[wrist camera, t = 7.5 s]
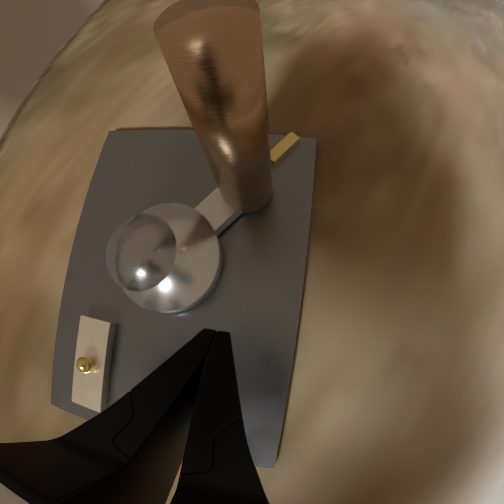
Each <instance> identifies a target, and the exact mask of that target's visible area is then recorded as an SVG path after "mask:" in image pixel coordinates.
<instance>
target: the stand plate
mask: <svg viewBox="0 0 504 504" xmlns="http://www.w3.org/2000/svg"><path fill="white" fill-rule="evenodd" d="M269 137H270V153H271V169H272V186H273V190H272V195H271V198H270V200H269V201H268V203H267V204H266V205H265V206H263V207H262V208H261V209H259V210H257V211H254V212H249V213H241V214H240V215H239V216H238V217H237V218H236V219H235V220H234V221H233V222H232V223H231V224H230V225H229V226H228V227H227V228H225V229H224V230H223V231H222V232H221V233H220V234H219V235H218V238H219V240H220V244H221V247H222V255H223V262H222V269H221V273H220V276H219V279H218V282H217V283H216V285H215V287H214V289H213V290H212V292H211V293H210V294H209V295H208V296H207V297H206V299H204V300H203V301H202V302H201V303H200V304H198V305H196V306H195V307H193V308H191V309H189V310H186V311H183V312H178V313H162V312H157V311H152V310H148V309H146V308H143V307H141V306H139V305H138V304H136V303H135V302H134V301H132V300H131V299H130V298H129V297H128V296H127V295H126V293H125V292H124V290H123V289H122V287H121V286H119V285H118V284H117V283H116V282H115V281H114V280H113V279H112V277H111V276H110V274H109V272H108V269H107V265H106V248H107V244H108V241H109V239H110V237H111V235H112V233H113V232H114V230H115V229H116V228H117V227H118V226H119V225H120V224H121V223H122V222H123V221H125V220H126V219H128V218H130V217H132V216H135V215H138V214H140V213H141V212H143V211H144V210H146V209H148V208H150V207H153V206H155V205H159V204H164V203H178V204H183V205H187V206H189V207H191V208H195V207H197V206H198V205H199V204H200V203H201V202H202V201H203V200H204V199H205V198H206V197H207V196H208V195H210V194H211V193H212V192H213V191H214V190H215V189H216V188H217V187H218V186H217V183H216V181H215V179H214V176H213V174H212V171H211V169H210V167H209V164H208V162H207V159H206V157H205V155H204V152H203V150H202V147H201V145H200V143H199V140H198V138H197V135H196V133H195V131H194V130H124V131H109V133H108V136H107V138H106V141H105V144H104V146H103V149H102V152H101V154H100V157H99V160H98V163H97V165H96V168H95V171H94V174H93V177H92V180H91V183H90V186H89V189H88V193H87V196H86V199H85V202H84V206H83V209H82V213H81V216H80V220H79V224H78V227H77V231H76V235H75V239H74V243H73V247H72V251H71V256H70V260H69V265H68V269H67V274H66V279H65V284H64V289H63V295H62V301H61V307H60V313H59V320H58V327H57V334H56V343H55V352H54V362H53V375H52V391H51V404H52V405H55V406H57V407H59V408H61V409H63V410H65V411H68V412H70V413H72V414H74V415H77V416H79V417H81V418H84V419H86V420H90V419H91V418H93V417H94V416H96V415H98V414H99V413H101V412H102V411H104V410H105V409H107V408H108V407H109V406H111V405H112V404H113V403H115V402H116V401H117V400H118V399H120V398H121V397H122V396H123V395H125V394H126V393H127V392H128V391H130V390H131V389H132V388H133V387H135V386H136V385H137V384H138V383H139V382H141V381H142V380H143V379H144V378H145V377H147V376H148V375H149V374H150V373H151V372H153V371H154V370H155V369H156V368H157V367H159V366H160V365H161V364H162V363H163V362H164V361H166V360H167V359H168V358H169V357H170V356H172V355H173V354H174V353H175V352H176V351H178V350H179V349H180V348H181V347H182V346H183V345H185V344H186V343H187V342H188V341H189V340H190V339H192V338H193V337H194V336H195V335H196V334H197V333H199V332H200V331H201V330H202V329H204V328H208V329H214V330H216V331H219V330H220V331H226V332H230V334H231V341H232V348H233V355H234V362H235V369H236V376H237V383H238V389H239V396H240V403H241V409H242V416H243V421H244V427H245V433H246V437H247V442H248V446H249V449H250V453H251V456H252V459H253V462H254V465H255V466H260V467H268V468H275V463H276V458H277V453H278V447H279V442H280V437H281V431H282V426H283V420H284V414H285V409H286V403H287V397H288V391H289V385H290V378H291V372H292V366H293V359H294V352H295V345H296V338H297V331H298V324H299V316H300V309H301V301H302V293H303V285H304V276H305V267H306V258H307V249H308V239H309V229H310V219H311V208H312V196H313V184H314V171H315V157H316V141H317V139H315V138H307V137H298V136H297V135H295V134H294V133H293V132H290V133H289V134H288V135H278V134H269Z"/></svg>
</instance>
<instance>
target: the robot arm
mask: <svg viewBox="0 0 504 504" xmlns="http://www.w3.org/2000/svg"><path fill="white" fill-rule="evenodd" d="M182 460H183V462H182ZM181 463H182V467H181V472H180V477H179V481H178V485H177V489H176V492H175V494H174V496H173V498H172V500H171V503H170V504H269V502H268V500H267V497H266V495H265V492H264V489H263V487H262V484H261V481H260V479H259V476H258V473H257V470H256V467H255V465H254V462H253V459H252V456H251V453H250V449H249V446H248V442H247V437H246V433H245V427H244V421H243V416H242V409H241V403H240V396H239V389H238V383H237V376H236V369H235V362H234V355H233V348H232V341H231V334H230V332H226V331H220V330H219V331H216V330H214V329H208V328H204V329H202V330H201V331H200V332H199V333H197V334H196V335H195V336H194V337H193V338H192V339H190V340H189V341H188V342H187V343H186V344H185V345H183V346H182V347H181V348H180V349H179V350H178V351H176V352H175V353H174V354H173V355H172V356H170V357H169V358H168V359H167V360H166V361H164V362H163V363H162V364H161V365H160V366H159V367H157V368H156V369H155V370H154V371H153V372H151V373H150V374H149V375H148V376H147V377H145V378H144V379H143V380H142V381H141V382H139V383H138V384H137V385H136V386H135V387H133V388H132V389H131V390H130V391H128V392H127V393H126V394H125V395H123V396H122V397H121V398H120V399H118V400H117V401H116V402H115V403H113V404H112V405H111V406H109V407H108V408H107V409H105V410H104V411H102V412H101V413H99V414H98V415H96V416H94V417H93V418H91V419H90V420H88V421H86V422H85V423H83V424H82V425H80V426H78V427H77V428H75V429H73V430H72V431H70V432H68V433H67V434H65V435H63V436H61V437H58V438H55V439H52V440H47V441H34V442H18V443H0V504H165V503H166V501H167V498H168V496H169V493H170V491H171V488H172V486H173V483H174V480H175V478H176V475H177V473H178V470H179V468H180V465H181Z"/></svg>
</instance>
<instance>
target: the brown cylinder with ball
mask: <svg viewBox="0 0 504 504" xmlns="http://www.w3.org/2000/svg"><path fill="white" fill-rule="evenodd" d="M153 30H154V34H155V36H156V39H157V41H158V43H159V46H160V48H161V51H162V53H163V56H164V58H165V61H166V63H167V65H168V68H169V70H170V73H171V75H172V78H173V80H174V82H175V85H176V87H177V90H178V92H179V94H180V97H181V99H182V102H183V104H184V107H185V109H186V111H187V114H188V116H189V119H190V121H191V123H192V126H193V128H194V131H195V133H196V135H197V138H198V140H199V143H200V145H201V147H202V150H203V152H204V155H205V157H206V159H207V162H208V164H209V167H210V169H211V171H212V174H213V176H214V179H215V181H216V183H217V186H218V187H217V188H216V189H215V190H214V191H213V192H212V193H211V194H210V195H208V196H207V197H206V198H205V199H204V200H203V201H202V202H201V203H200V204H199V205H198V206H197V207H195V208H191V207H189V206H187V205H183V204H178V203H164V204H159V205H155V206H153V207H150V208H148V209H146V210H144V211H143V212H141V213H140V214H138V215H135V216H132V217H130V218H128V219H126V220H125V221H123V222H122V223H121V224H120V225H119V226H118V227H117V228H116V229H115V230H114V232H113V233H112V235H111V237H110V239H109V241H108V244H107V248H106V265H107V269H108V272H109V274H110V276H111V277H112V279H113V280H114V281H115V282H116V283H117V284H118V285H119V286H121V287H122V289H123V290H124V292H125V293H126V295H127V296H128V297H129V298H130V299H131V300H132V301H134V302H135V303H136V304H138V305H139V306H141V307H143V308H146V309H148V310H152V311H157V312H162V313H178V312H183V311H186V310H189V309H191V308H193V307H195V306H196V305H198V304H200V303H201V302H202V301H203V300H204V299H206V297H207V296H208V295H209V294H210V293H211V292H212V290H213V289H214V287H215V285H216V283H217V282H218V279H219V276H220V273H221V269H222V262H223V255H222V247H221V244H220V240H219V238H218V235H219V234H220V233H221V232H222V231H223V230H224V229H225V228H227V227H228V226H229V225H230V224H231V223H232V222H233V221H234V220H235V219H236V218H237V217H238V216H239V215H240V214H241V213H249V212H254V211H257V210H259V209H261V208H262V207H263V206H265V205H266V204H267V203H268V201H269V200H270V198H271V195H272V190H273V186H272V169H271V153H270V137H269V123H268V108H267V94H266V81H265V68H264V56H263V44H262V32H261V21H260V10H259V5H258V3H257V2H256V1H255V0H180V1H178V2H176V3H175V4H173V5H171V6H170V7H168V8H167V9H166V10H165V11H163V12H162V13H161V14H160V15H159V17H158V18H157V19H156V21H155V24H154V29H153Z"/></svg>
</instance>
